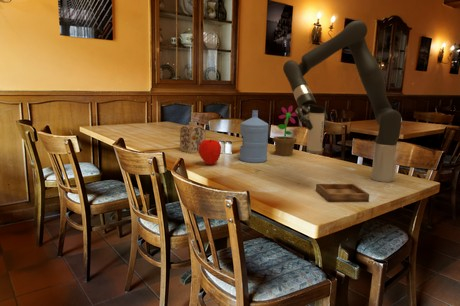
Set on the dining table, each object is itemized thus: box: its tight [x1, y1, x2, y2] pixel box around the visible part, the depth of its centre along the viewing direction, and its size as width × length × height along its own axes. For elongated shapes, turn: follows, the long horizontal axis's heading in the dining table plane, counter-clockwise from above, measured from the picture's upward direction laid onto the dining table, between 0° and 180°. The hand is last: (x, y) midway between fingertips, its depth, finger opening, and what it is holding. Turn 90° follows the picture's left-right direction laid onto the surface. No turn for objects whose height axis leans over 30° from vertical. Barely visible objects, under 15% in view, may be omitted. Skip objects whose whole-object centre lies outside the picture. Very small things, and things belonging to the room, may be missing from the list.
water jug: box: [238, 109, 269, 164], centre depth 199 cm, size 16×16×28 cm
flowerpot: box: [272, 105, 298, 157], centre depth 217 cm, size 14×14×30 cm
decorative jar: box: [179, 121, 207, 154], centre depth 220 cm, size 12×12×18 cm
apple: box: [198, 139, 222, 166], centre depth 188 cm, size 12×12×13 cm
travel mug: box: [306, 104, 326, 154], centre depth 149 cm, size 6×7×20 cm
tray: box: [315, 183, 370, 203], centre depth 142 cm, size 16×14×3 cm
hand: (318, 128), depth 148 cm, fingers closed on travel mug, 6 cm apart
